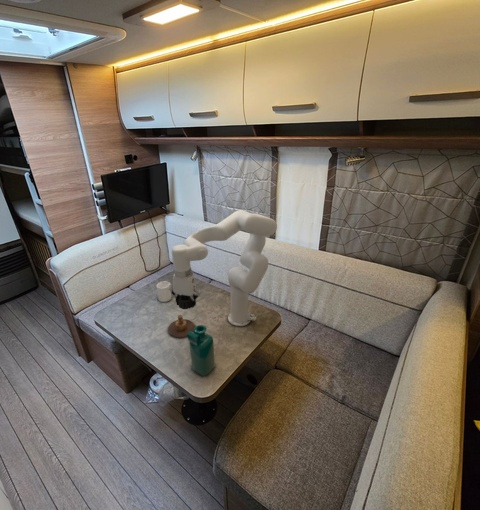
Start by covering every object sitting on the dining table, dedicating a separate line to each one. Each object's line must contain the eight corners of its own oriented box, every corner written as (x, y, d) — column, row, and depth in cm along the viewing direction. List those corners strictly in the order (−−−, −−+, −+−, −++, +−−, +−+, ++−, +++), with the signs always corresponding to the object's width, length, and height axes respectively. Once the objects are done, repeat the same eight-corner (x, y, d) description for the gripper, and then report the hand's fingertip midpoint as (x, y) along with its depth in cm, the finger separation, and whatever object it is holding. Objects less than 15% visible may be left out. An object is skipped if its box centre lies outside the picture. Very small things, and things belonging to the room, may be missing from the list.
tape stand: (198, 323, 153) (197, 310, 150) (188, 340, 141) (187, 327, 138) (175, 319, 158) (173, 306, 154) (163, 335, 146) (161, 322, 142)
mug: (166, 291, 185) (164, 277, 181) (177, 293, 182) (175, 279, 177) (155, 300, 175) (153, 286, 171) (166, 303, 172) (164, 289, 168)
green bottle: (202, 357, 130) (199, 319, 121) (216, 365, 125) (214, 326, 116) (188, 370, 124) (183, 331, 114) (202, 379, 119) (198, 339, 109)
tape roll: (195, 301, 134) (195, 294, 132) (189, 310, 128) (189, 303, 126) (182, 299, 136) (181, 292, 135) (176, 307, 130) (175, 300, 129)
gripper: (203, 270, 125) (206, 303, 132) (169, 266, 131) (173, 297, 138) (197, 278, 119) (200, 312, 126) (161, 273, 124) (166, 306, 132)
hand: (186, 304), depth 132 cm, fingers closed on tape roll, 7 cm apart
